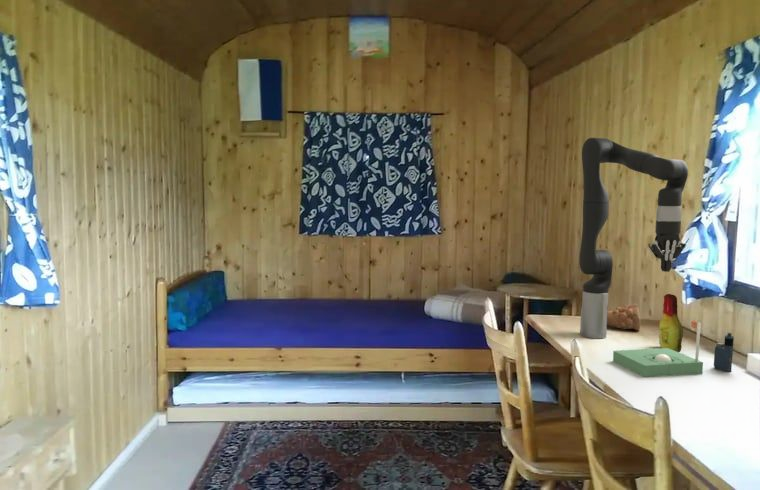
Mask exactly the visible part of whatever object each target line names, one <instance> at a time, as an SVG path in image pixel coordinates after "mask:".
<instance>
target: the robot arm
mask: <svg viewBox="0 0 760 490" xmlns="http://www.w3.org/2000/svg"><path fill="white" fill-rule="evenodd" d="M581 163H582V173H583V174H582V176H583V184H582V185H583V187H582V188H583V191H582V193H583V194H582V196H583V197H582V230H581V231H582V233H581V241H580V249H579V260H578V262H579V268H580V271H581V272H582V273H583V274H585V275H592V278H590V279H588V281H586V282H585V283H583V284H582V298H581V299H582V303H581V310H580V329H579V334H580V336H582V337H585V338H588V339H589V338H590V339H606V338H607V330H608V329H607V328H608V325H607V313H608V311H609V309H608V307H609V292H610V291H609V289H610V287H611V284H612V275H613V266H614V262H613V261H614V260H613V256H612V253H610V251H608V250H606V249H597V243H598V242H597V240H598V237H599V235H600V233H601V231H602V229H603V227H604V225H605V224H606V222H607V220H608V217H609V212H610V198H609V194H608V191H607V189H606V187H605V184H604V183H603V181H602V177H601V171H600V170H601V169H600V168H601V167H600V166H601V164H605V163H609V164H610V163H611V164H619V165H622V166H625V167H626V168H628V169H630V170H632V171H635V172H637V173H638V172H639V173H641V174H645V175H648V176H650V177H653V178H654V179H657V180H659V181H666V185H665V187H663V188H660V189H659V191H658V195H657V208H656V212H655V213H656V214H655V215H656V216H655V231H654V232H655V234H656V235H655V238H654V241H653V242H651V243H648V248H649V249H650V251H651V252H652V254H653V256H655V258H656V259H659V260H660V270H661V271H662V272H663V273H664V272H665V273H666V272H667V273H669V272H670V271H671V270H672V260H674V259H677V258H678V257H679V256H680V255H681V253H682V252H683V250H684V249H685V248H686V247H687V246H686V245H687V244H686V243H683V242H682V241H681V238H680V234H681V232H682V230H681V229H682V215H683V214H682V201H683V200H682V199H683V191H684V189H685V187H686V183H687V179H688V176H689V168H688V165H687V163H686V162H685V160H682V159H678V158H677V159H676V158H675V159H672V158H665V157H660V156H659V155H657V154H654V153H650V152H646V151H642V150H638V149H637V150H636V149H633V148H629V147H626V146H623V145H621V144H619V143H617V142H614V141H613V140H611V139H609V138H603V137H602V138H601V137H589V138H587V139H586V140H585V141H584V142H583V144H582V147H581Z"/></svg>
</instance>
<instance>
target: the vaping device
mask: <svg viewBox="0 0 760 490" xmlns="http://www.w3.org/2000/svg"><path fill="white" fill-rule="evenodd" d="M734 338H735V337H734V336H733V335H732V333H731V332H727V335H726V334H725V336H724V341H723V342H716V345H715V347H714V358H713V367H714V369H715V370H719V371H722V372H727V373H731V372H732V367H733V354H734Z"/></svg>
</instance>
